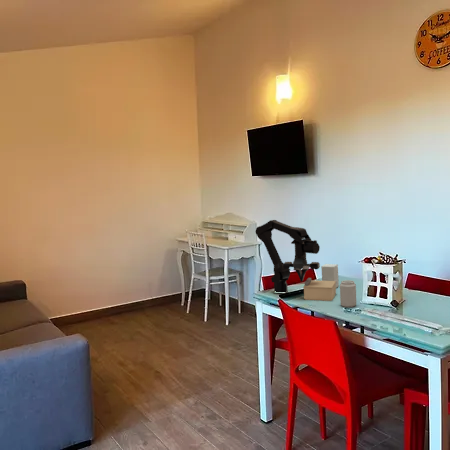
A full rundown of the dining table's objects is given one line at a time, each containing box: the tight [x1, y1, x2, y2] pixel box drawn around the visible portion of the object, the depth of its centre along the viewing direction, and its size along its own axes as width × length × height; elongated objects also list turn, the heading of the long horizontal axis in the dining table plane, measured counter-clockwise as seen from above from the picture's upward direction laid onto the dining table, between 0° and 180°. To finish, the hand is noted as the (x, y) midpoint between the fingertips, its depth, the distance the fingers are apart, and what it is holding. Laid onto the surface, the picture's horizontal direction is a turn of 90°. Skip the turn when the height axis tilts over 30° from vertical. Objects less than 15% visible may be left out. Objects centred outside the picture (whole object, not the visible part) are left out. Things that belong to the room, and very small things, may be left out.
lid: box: [303, 277, 336, 289], centre depth 249 cm, size 14×14×3 cm
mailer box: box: [303, 283, 337, 302], centre depth 249 cm, size 14×14×6 cm
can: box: [339, 279, 357, 308], centre depth 230 cm, size 8×8×12 cm
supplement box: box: [320, 263, 340, 289], centre depth 268 cm, size 7×7×13 cm
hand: (301, 281), depth 252 cm, fingers closed
